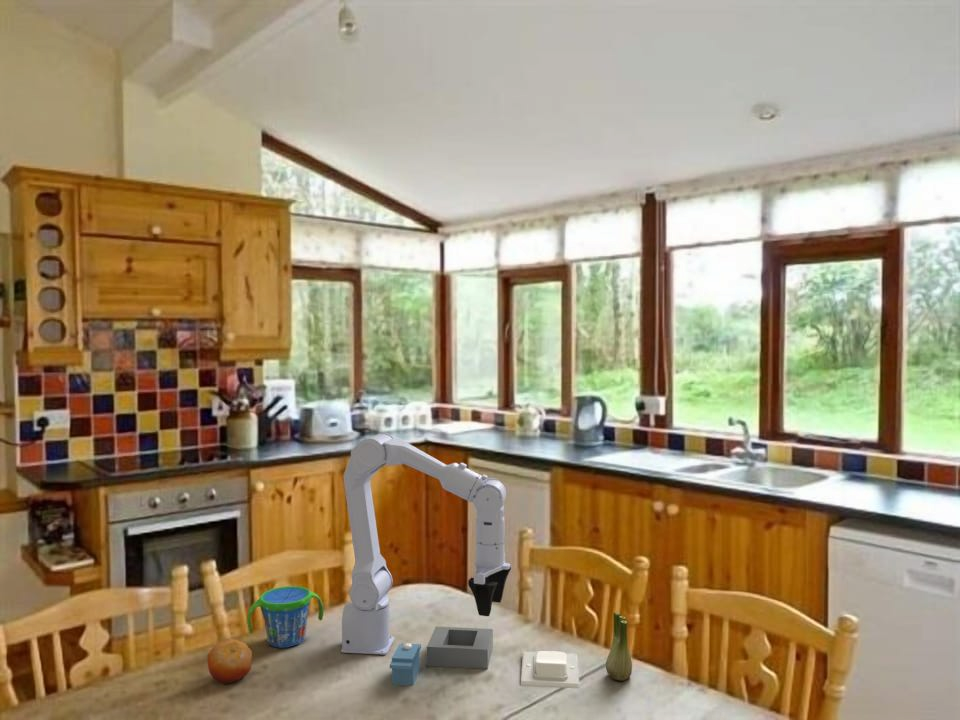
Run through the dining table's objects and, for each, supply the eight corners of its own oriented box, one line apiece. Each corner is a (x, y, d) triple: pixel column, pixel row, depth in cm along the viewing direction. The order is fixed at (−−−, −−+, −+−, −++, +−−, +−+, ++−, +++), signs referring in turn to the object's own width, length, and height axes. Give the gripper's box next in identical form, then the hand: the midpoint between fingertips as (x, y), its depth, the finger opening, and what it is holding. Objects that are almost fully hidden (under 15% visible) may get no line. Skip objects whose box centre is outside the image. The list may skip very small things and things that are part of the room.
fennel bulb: (629, 686, 136) (629, 622, 136) (602, 681, 138) (603, 618, 137) (634, 672, 142) (634, 610, 141) (608, 668, 143) (608, 607, 143)
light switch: (520, 671, 136) (523, 638, 149) (520, 692, 137) (523, 657, 149) (579, 674, 135) (577, 640, 148) (579, 695, 135) (577, 660, 148)
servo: (389, 688, 136) (389, 658, 135) (401, 665, 145) (401, 637, 145) (411, 690, 135) (410, 659, 135) (421, 666, 145) (421, 638, 144)
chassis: (426, 665, 145) (426, 646, 144) (435, 644, 155) (435, 626, 154) (487, 668, 143) (487, 649, 143) (492, 647, 153) (492, 629, 153)
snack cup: (248, 657, 148) (248, 607, 148) (246, 637, 158) (245, 590, 158) (327, 646, 154) (326, 598, 154) (320, 627, 164) (319, 582, 163)
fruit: (235, 655, 146) (244, 627, 143) (251, 687, 142) (261, 658, 139) (195, 668, 141) (203, 639, 138) (211, 701, 136) (220, 672, 133)
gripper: (498, 553, 140) (498, 624, 140) (519, 533, 153) (519, 598, 154) (463, 549, 142) (463, 619, 142) (486, 530, 156) (486, 594, 156)
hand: (490, 608), depth 148 cm, fingers open, 7 cm apart
